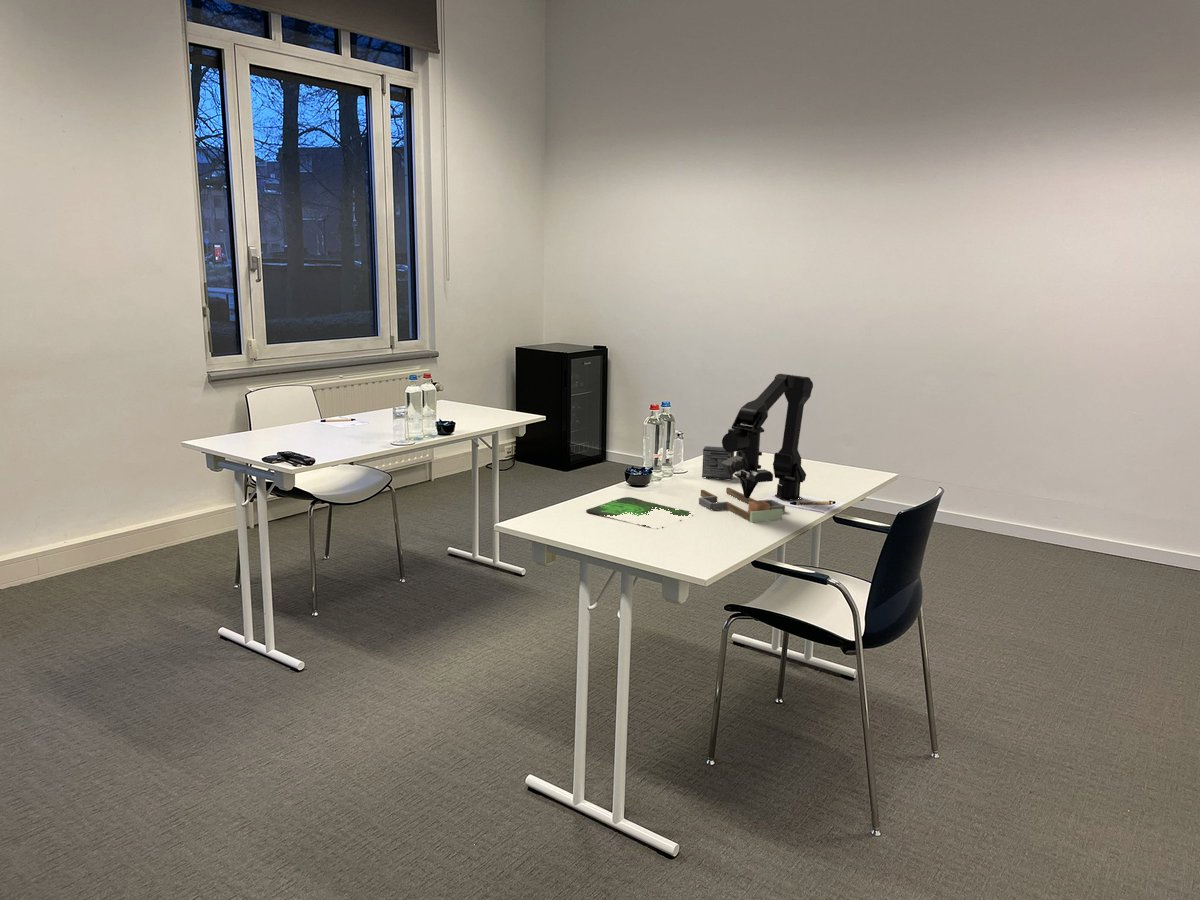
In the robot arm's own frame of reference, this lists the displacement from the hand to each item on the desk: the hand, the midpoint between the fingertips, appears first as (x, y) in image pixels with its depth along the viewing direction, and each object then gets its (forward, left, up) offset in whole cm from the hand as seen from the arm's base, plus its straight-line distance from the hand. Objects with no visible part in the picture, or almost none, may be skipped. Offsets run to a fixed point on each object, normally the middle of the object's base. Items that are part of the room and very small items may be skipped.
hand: (746, 497), depth 270 cm
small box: (-13, -41, -4) cm, 43 cm away
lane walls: (0, -5, -4) cm, 6 cm away
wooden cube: (0, +7, -4) cm, 8 cm away
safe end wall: (0, +11, -4) cm, 12 cm away
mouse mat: (+32, -8, -5) cm, 33 cm away
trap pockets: (0, -3, -4) cm, 5 cm away
